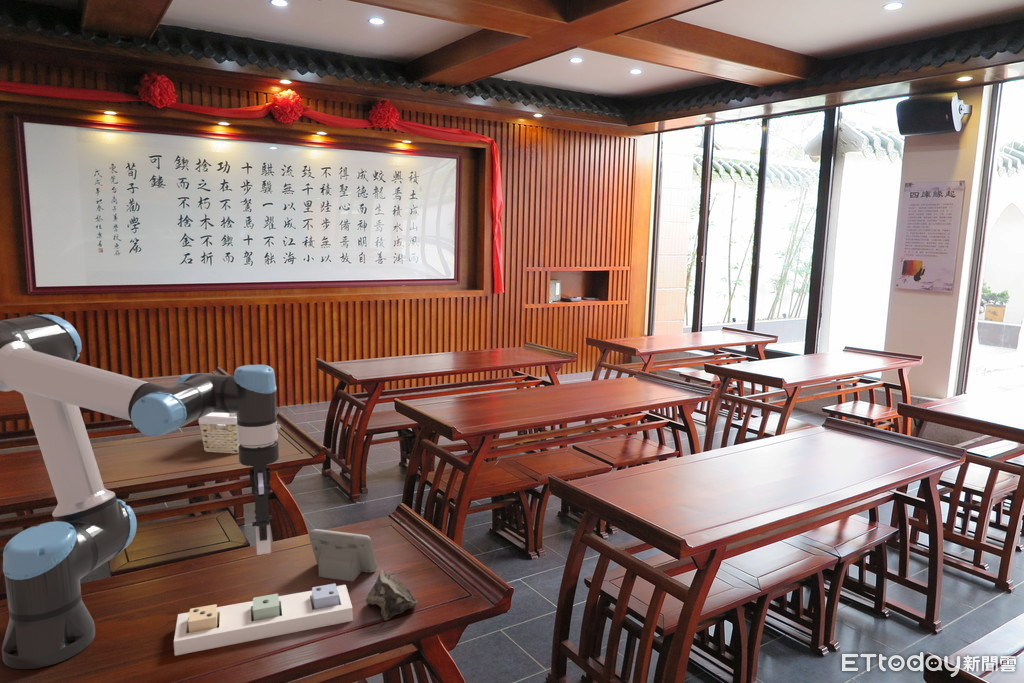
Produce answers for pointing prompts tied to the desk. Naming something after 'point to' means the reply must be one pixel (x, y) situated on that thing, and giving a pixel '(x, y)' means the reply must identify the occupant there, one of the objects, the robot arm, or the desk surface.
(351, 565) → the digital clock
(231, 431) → the storage basket
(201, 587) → the desk surface
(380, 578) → the grey rock
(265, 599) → the tile one
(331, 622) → the tile panel
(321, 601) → the tile two
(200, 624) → the tile three
